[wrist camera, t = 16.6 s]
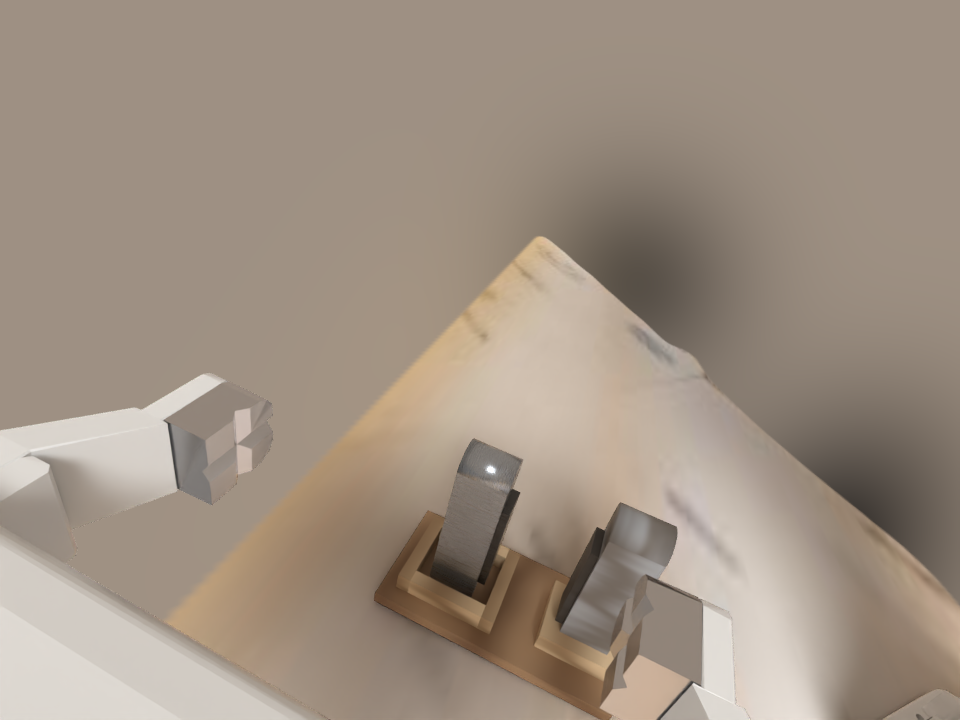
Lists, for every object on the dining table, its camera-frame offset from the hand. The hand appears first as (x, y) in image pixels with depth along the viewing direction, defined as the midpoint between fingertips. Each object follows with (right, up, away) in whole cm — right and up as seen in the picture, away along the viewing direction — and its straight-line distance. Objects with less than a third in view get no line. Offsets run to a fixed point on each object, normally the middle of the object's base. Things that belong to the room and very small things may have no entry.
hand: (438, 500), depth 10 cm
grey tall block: (-1, -15, +31) cm, 35 cm away
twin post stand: (+3, -17, +31) cm, 35 cm away
